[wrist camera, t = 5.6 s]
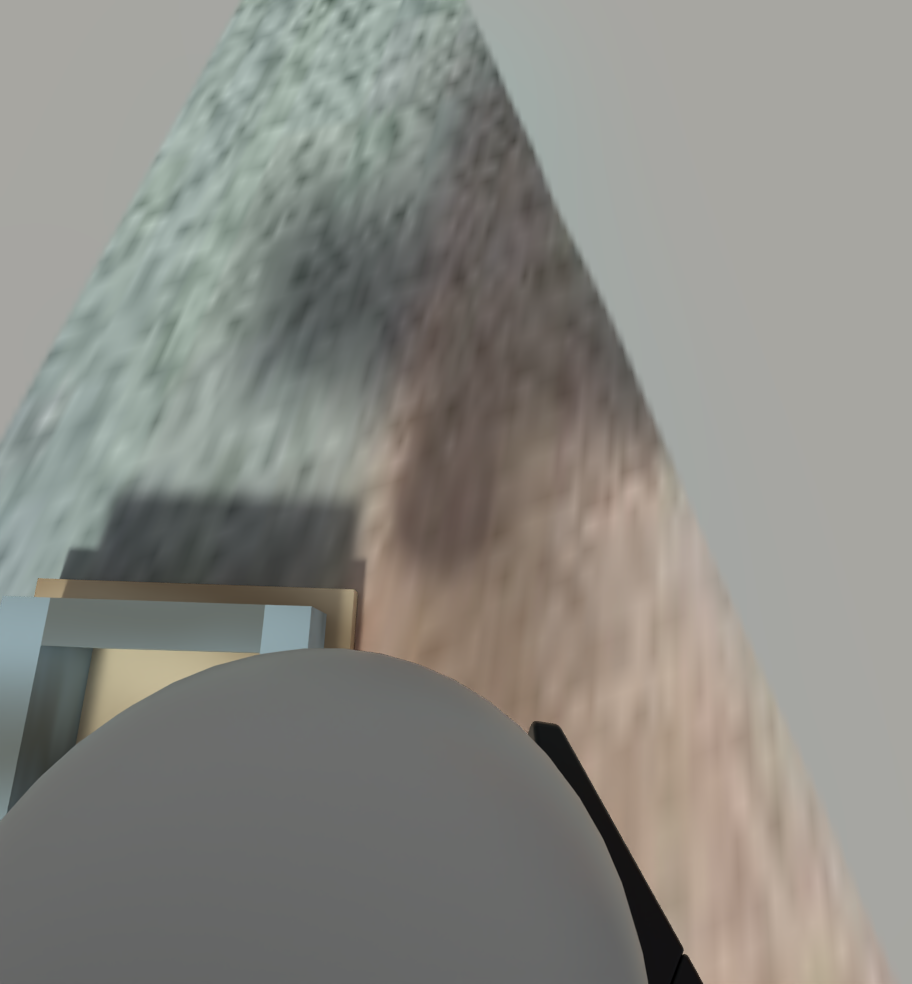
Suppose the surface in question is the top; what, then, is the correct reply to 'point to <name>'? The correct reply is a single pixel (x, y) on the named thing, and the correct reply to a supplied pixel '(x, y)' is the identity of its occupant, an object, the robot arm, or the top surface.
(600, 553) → the top surface
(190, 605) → the jig
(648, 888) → the robot arm
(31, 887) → the cylinder
